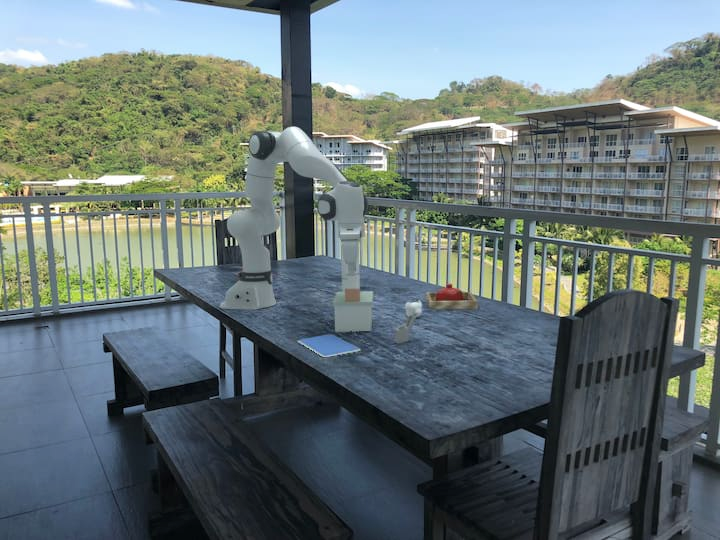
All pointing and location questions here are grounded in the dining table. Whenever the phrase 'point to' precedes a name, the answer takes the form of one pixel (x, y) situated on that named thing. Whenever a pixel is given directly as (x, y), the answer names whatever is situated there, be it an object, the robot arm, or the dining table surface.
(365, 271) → the dining table surface
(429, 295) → the wooden frame
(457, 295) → the butter dish
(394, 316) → the dining table surface
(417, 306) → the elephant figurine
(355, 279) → the cylindrical container
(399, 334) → the lighter
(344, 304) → the lid
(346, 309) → the parts tub
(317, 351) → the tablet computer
